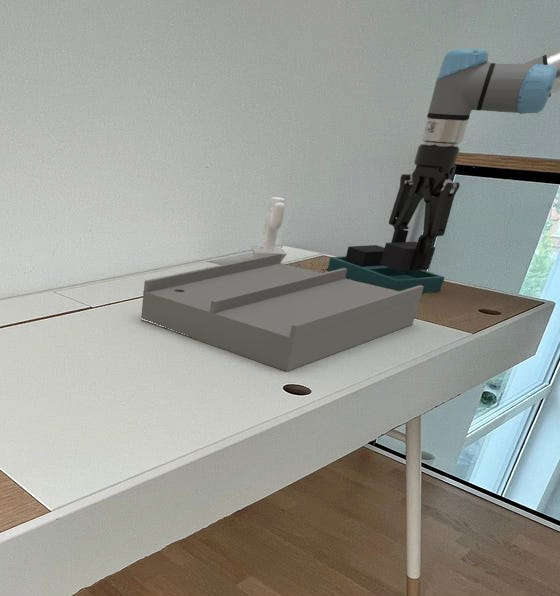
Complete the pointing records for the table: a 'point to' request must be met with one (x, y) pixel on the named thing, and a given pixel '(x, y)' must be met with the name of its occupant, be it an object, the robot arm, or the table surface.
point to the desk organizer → (277, 310)
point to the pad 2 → (403, 256)
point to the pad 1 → (365, 255)
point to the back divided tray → (388, 276)
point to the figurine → (271, 230)
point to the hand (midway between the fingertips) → (404, 265)
